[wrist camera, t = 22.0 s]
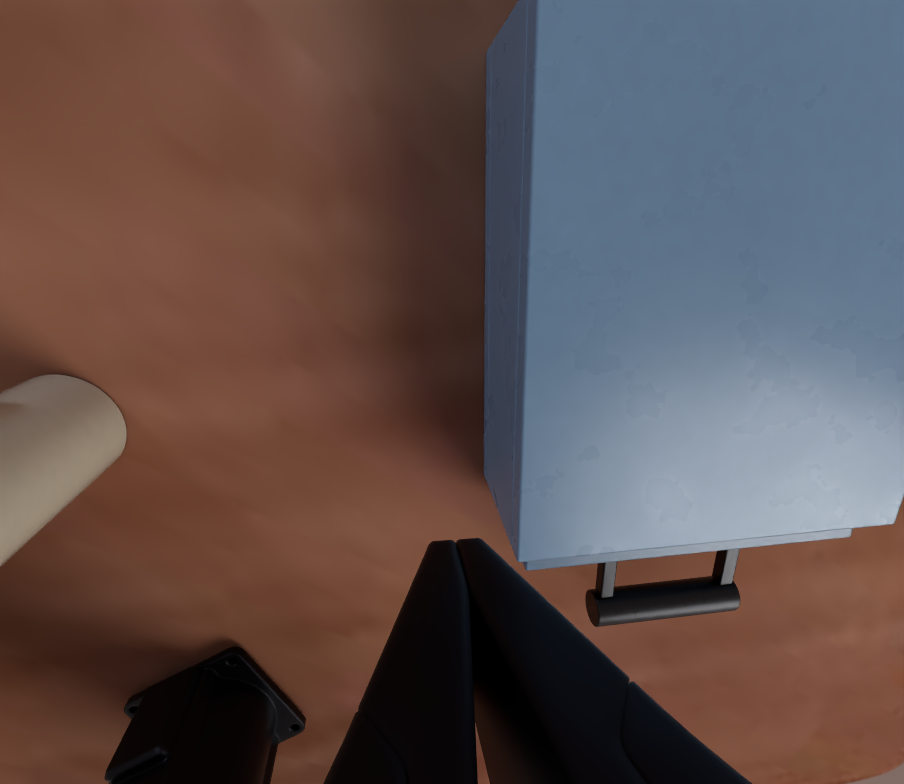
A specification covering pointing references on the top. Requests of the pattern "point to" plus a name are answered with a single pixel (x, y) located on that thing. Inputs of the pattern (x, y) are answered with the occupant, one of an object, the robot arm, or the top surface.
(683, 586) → the drawer
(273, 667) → the top surface
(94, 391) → the blue-lidded canister
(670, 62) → the cabinet
